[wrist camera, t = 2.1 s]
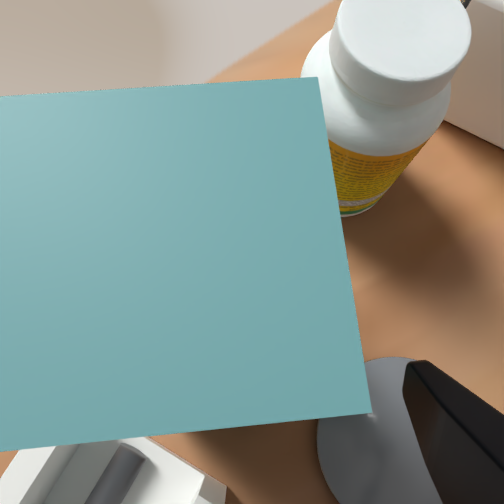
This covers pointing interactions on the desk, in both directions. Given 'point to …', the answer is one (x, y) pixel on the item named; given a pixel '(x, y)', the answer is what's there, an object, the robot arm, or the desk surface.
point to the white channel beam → (107, 475)
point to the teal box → (171, 264)
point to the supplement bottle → (385, 88)
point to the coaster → (376, 446)
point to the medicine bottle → (481, 75)
